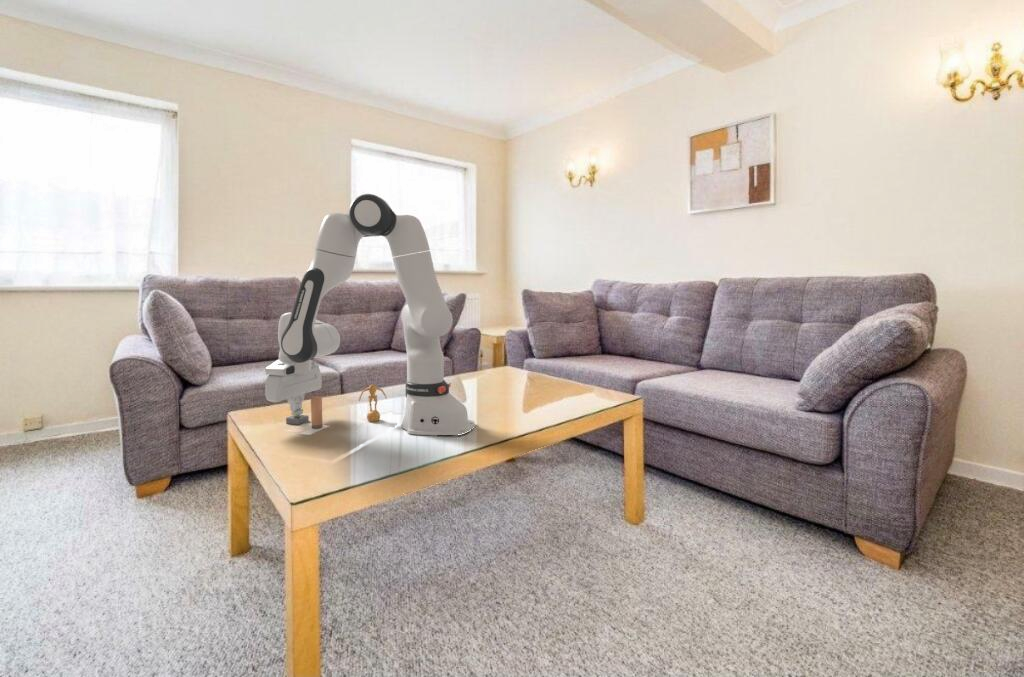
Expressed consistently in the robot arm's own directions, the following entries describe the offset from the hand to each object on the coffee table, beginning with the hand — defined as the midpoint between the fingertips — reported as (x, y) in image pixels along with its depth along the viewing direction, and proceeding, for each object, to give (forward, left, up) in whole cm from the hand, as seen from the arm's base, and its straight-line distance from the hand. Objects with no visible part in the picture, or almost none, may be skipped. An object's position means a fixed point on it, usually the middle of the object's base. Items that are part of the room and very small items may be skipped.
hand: (296, 409), depth 141 cm
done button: (0, 0, -3) cm, 3 cm away
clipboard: (-5, +3, -5) cm, 8 cm away
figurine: (-20, -11, -5) cm, 23 cm away
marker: (-9, +2, -4) cm, 10 cm away
